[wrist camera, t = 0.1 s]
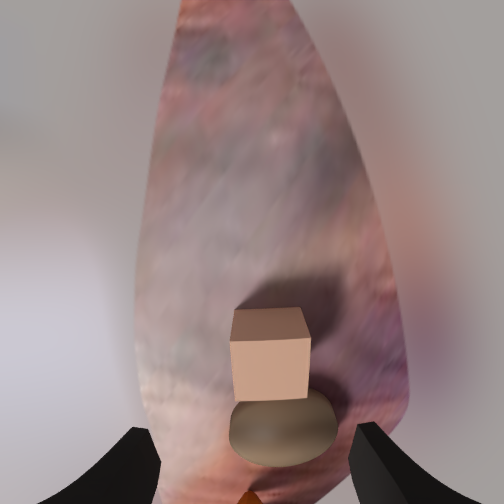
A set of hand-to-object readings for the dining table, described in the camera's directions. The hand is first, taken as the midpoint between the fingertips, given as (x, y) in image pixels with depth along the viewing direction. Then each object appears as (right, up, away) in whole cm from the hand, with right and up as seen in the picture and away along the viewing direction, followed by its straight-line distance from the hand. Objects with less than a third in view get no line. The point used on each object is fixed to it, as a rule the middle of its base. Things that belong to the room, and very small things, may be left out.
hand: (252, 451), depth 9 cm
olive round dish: (+2, -6, +12) cm, 14 cm away
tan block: (+1, +1, +10) cm, 10 cm away
